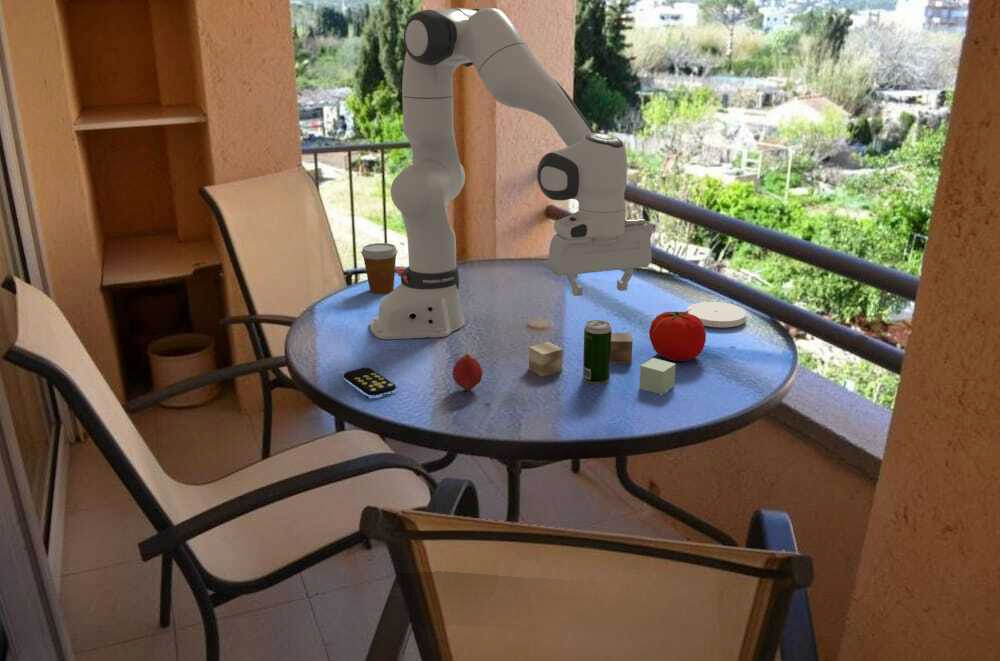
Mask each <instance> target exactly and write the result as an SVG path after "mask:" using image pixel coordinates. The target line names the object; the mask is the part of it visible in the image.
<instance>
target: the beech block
mask: <svg viewBox="0 0 1000 661" xmlns="http://www.w3.org/2000/svg"><path fill="white" fill-rule="evenodd" d="M563 349H564V348H561V347H559V346H557V345H556V344H554V343H551V342H550V341H546V342H542V343H540V344H539V343H538V344H534V345H531V346H529V347H528V369H529V370H531V371H532V370H533V371H532V372H534V371H535V372H534V373H536V374H537V373H538V374H537V375H539V374H540V375H539V376H540V377H542V376H543V377H546V376H545V375H547V376H550V375H549V374H551V375H554V374H558V373H562V372H563V359H564V358H563V357H564V354H563V352H564V350H563ZM557 372H558V373H557ZM553 373H554V374H553Z"/></svg>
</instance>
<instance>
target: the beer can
mask: <svg viewBox="0 0 1000 661" xmlns="http://www.w3.org/2000/svg"><path fill="white" fill-rule="evenodd" d="M611 333H613V332H612V328H611V323H610V322H609V321H607V320H600V319H593V320H589V321H586V322H585V326H584V328H583V358H582V359H583V360H582V361H583V362H582V379H583V380H584V382H585V383H587V384H589V385H593V384H594V385H595V386H599V385H600V384H601V385H604V384H607V383H608V381H609V380H610V377H611V376H610V375H611V363H610V357H611ZM601 385H600V386H601Z"/></svg>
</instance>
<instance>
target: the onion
mask: <svg viewBox="0 0 1000 661" xmlns="http://www.w3.org/2000/svg"><path fill="white" fill-rule="evenodd" d="M452 378H453V380H454V382H455V384H457V385H458V387H460V388H462V389H463V390H464V391H466V392H470V391H472V390H473V389H474V388H475V387H476V386H477V385H478V384H480V382H481V380H482V378H483V368H482V366H481V365H480V363H479V362H478V361H477V359H475V358H474V357H472V356H471V355H470V352H466V353H465V354H464V355H463V356H462V357H461V358H459V359H458V361H456V363H455V364H454V366H453V368H452Z"/></svg>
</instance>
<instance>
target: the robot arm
mask: <svg viewBox="0 0 1000 661" xmlns="http://www.w3.org/2000/svg"><path fill="white" fill-rule="evenodd" d="M403 43H404V48H405V50H406V53H405V56H404V61H403V68H402V69H403V70H402V88H401V90H402V91H401V92H402V93H401V94H402V97H401V98H402V99H401V100H402V124H403V126H402V127H403V128H402V129H403V130H402V131H403V134H404V135H405V137H406V138H407V140H408V142H409V146H410V149H411V152H412V156H413V157H412V158H413V164H410V165H408V166H405V167H404V168H403V169H402V170H401V171H400V172H399V173H398V174H397V175H396V177H395V178H394V179H393V180H392V183H391V186H390V197H391V201H392V203H393V204H394V206H395V207H396V209H398V211H399V212H400V215H401V217H402V220H403V224H404V228H405V232H406V239H407V254H408V266H407V267H406V268H404V267H403V266H398V267H397V268H395V271H396V272H395V273H396V274H397V276H398V277H400V284H399V285H397V287H394V290H393V291H392V292H390V293H387V294H386V295H385V296H384V297H383V298H382V300H381V301H380V304H379V309H378V315H377V316H373V318H371V320H370V321H369V330H370V332H371V334H373V335H374V336H375V337H376V338H378V339H381V340H401V339H402V340H404V339H405V340H406V339H424V338H425V339H426V337H430V338H443V337H448V336H449V335H451V333H453V332H454V331H456V330H460V329H461V328H463V326H464V325H465V324H466V321H465V318H464V315H463V311H462V308H461V302H460V295H459V290H460V289H459V287H460V271H459V266H458V265H457V241H456V237H457V236H456V233H455V231H454V229H453V228H452V226H451V223H450V220H449V216H448V211H447V204H448V203H449V202H451V201H453V200H455V198H457V196H458V195H459V194H460V193H461V191H462V189H463V187H464V186H465V184H466V172H465V168H464V166H463V165H462V164H461V161H460V157H459V152H458V148H457V143H456V137H455V130H454V129H455V127H454V122H455V121H454V82H453V81H454V73H455V71H456V69H457V68H459V66H461V65H462V66H464V67H465V68H468V67H471V66H473V67H474V68H475V70H476V72H477V74H478V76H479V78H480V79H481V81H482V84H483V85H484V87H485V88H486V90H487V91H488V93H489V94H490V95H491V96H492V97H493V99H494V100H496V102H498V103H499V104H501V105H503V106H506V107H507V108H508V107H509V108H513V109H518V110H523V111H526V112H529V113H533V114H536V116H537V115H538V116H539V117H542V118H543V119H545V120H546V121H547V122H548V123H550V124H551V127H553V128H554V130H555V131H556V133H557V134H558V136H560V138H561V139H562V141H563V142H564V144H565V145H566V147H564V148H560V149H556V150H553V151H551V152H548V153H546V154H544V155H543V156H542V158H541V159H540V161H539V163H538V165H537V172H536V177H537V184H538V187H539V188H540V190H541V192H542V194H544V196H546V197H547V199H550V200H553V201H561V202H562V201H567V200H576V201H577V202H578V206H577V207H578V209H577V210H578V211H575V212H573V213H572V214H569V215H566V216H564V217H562V218H560V219H557V220H555V221H554V223H553V230H554V232H555V233H556V234H554V235H553V236H552V238H551V240H550V244H549V250H548V251H549V252H548V268H549V270H550V271H551V272H552V273H553V275H555V276H556V277H562V276H566V279H567V280H568V282H569V284H570V285H571V293H572V295H573V297H578V296H582V295H583V286H582V285H580V284H577V282H576V280H578V275H581V274H590V273H592V274H593V273H601V272H602V273H603V272H609V271H620V270H622V272H623V274H622V277H621V279H620V280H619V279H618V280H616V284H617V285H616V289H617V290H618V291H619V292H622V291H623V292H625V291H628V287H629V286H628V283H629V282H630V280H631V278H632V277H633V275H634V271H635V270H634V269H639V268H640V269H641V268H647V267H648V266H649V265H650V264H651V263H652V259H653V258H652V253H653V252H652V243H651V242H652V241H651V237H652V230H653V228H652V224H651V223H650V222H649V221H647V220H646V219H643V218H638V219H629V220H628V219H627V220H626V215H627V212H626V211H627V210H626V208H627V205H626V201H625V192H626V188H627V185H628V184H627V183H628V156H627V151H626V148H625V144H624V142H623V140H621V139H620V138H619V137H617V136H616V135H612V134H608V133H600V132H596V131H595V130H594V129H593V127H592V126H591V124H590V122H589V121H588V120H587V119H586V117H585V115H583V113H582V112H581V110H580V109H579V107H578V106H577V105H576V103H575V102H574V100H573V99H572V98H571V96H570V95H569V94H568V93H567V91H566V90H565V89H564V87H563V86H562V85H561V84H560V83H559V82H558V81H557V80H556V79H555V78H553V76H551V75H550V73H548V72H547V71H546V69H544V67H543V66H542V65H541V63H540V62H539V61H538V60H537V58H536V57H535V55H534V54H533V53H532V51H531V49H530V47H529V46H528V43H527V42H526V40H525V39H524V37H523V36H522V34H521V32H519V30H518V29H517V28H516V26H515V25H514V24H513V22H512V20H510V18H509V17H508V15H506V14H505V13H504V12H503V11H502V10H500V9H498V8H495V7H485V8H482V9H479V8H472V9H471V8H464V7H449V8H439V9H424V10H420V11H418V12H415V13H413V14H412V15H411V16H410V17H409V18H408V19H407V21H406V23H405V25H404V31H403Z"/></svg>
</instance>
